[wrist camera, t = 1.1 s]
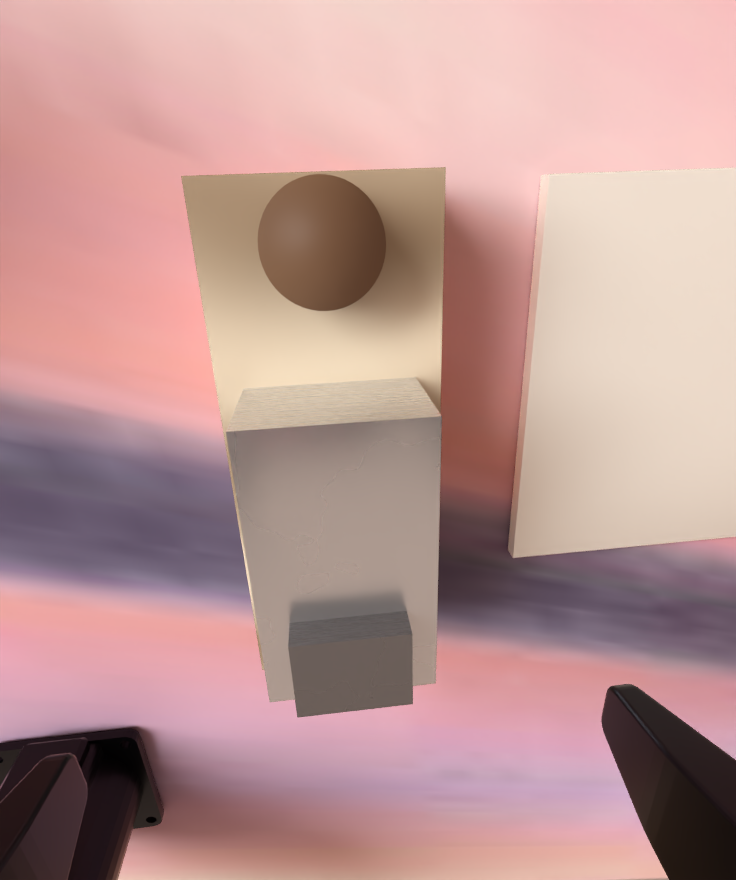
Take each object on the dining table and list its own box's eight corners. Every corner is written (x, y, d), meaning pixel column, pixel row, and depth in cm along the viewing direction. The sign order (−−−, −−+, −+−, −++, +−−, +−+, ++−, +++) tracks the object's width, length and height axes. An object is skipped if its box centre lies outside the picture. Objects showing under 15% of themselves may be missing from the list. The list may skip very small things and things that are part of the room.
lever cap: (415, 608, 17) (442, 708, 13) (276, 622, 17) (267, 729, 13) (415, 377, 14) (450, 430, 10) (243, 388, 13) (219, 447, 10)
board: (730, 528, 22) (741, 536, 22) (508, 549, 21) (512, 557, 21) (837, 165, 16) (855, 163, 16) (540, 175, 16) (549, 174, 15)
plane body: (414, 577, 21) (449, 700, 16) (271, 591, 21) (256, 723, 15) (413, 180, 15) (469, 157, 10) (213, 187, 15) (155, 167, 9)
